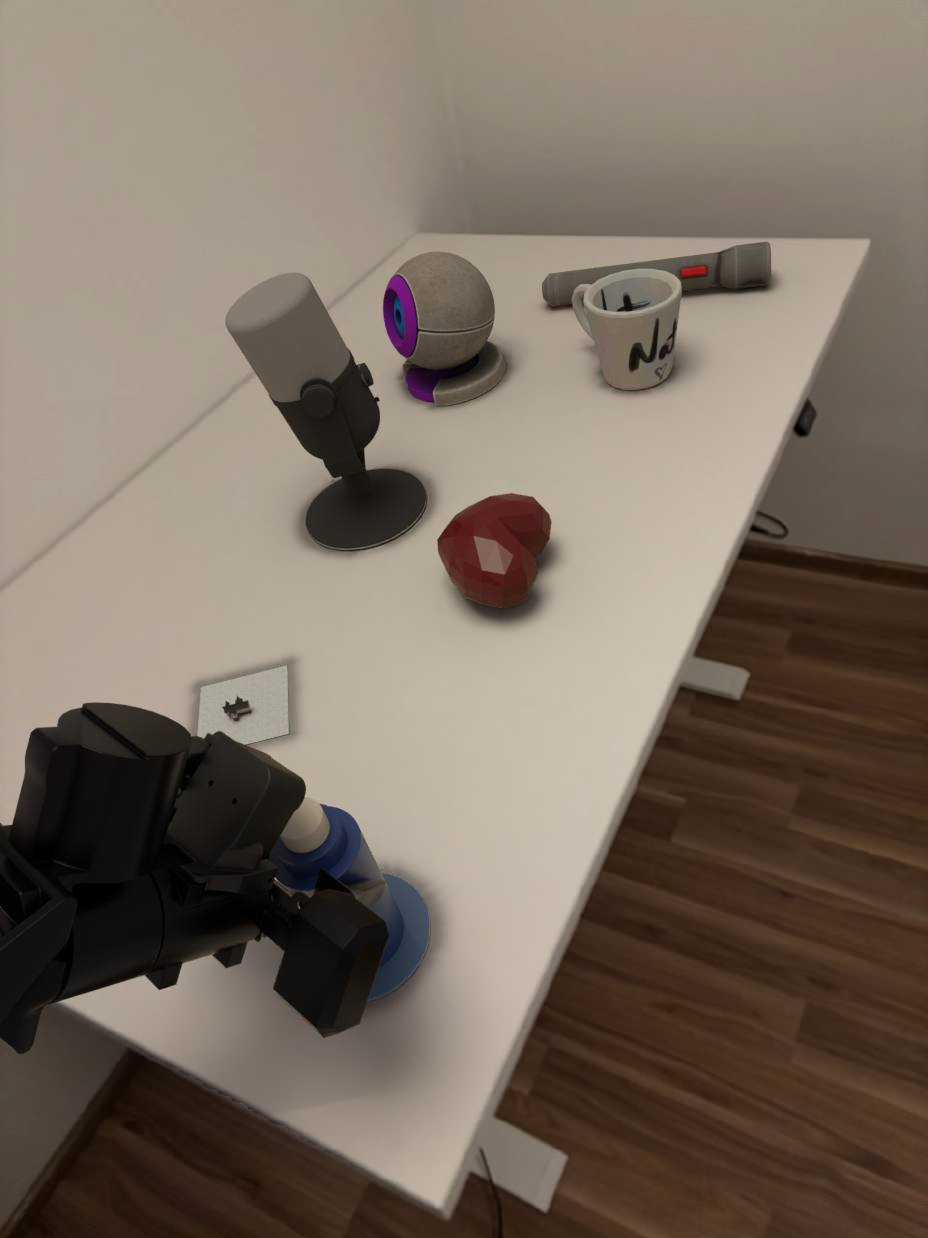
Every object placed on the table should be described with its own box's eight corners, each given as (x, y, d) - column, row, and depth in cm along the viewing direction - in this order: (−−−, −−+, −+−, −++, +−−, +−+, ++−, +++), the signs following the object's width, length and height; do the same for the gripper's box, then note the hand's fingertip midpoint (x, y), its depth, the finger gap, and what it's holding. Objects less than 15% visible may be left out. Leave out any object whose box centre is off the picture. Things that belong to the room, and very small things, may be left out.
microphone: (307, 488, 101) (221, 270, 83) (421, 461, 100) (359, 235, 83) (306, 563, 91) (210, 334, 74) (432, 533, 91) (365, 296, 73)
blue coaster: (372, 1030, 57) (371, 1028, 57) (274, 957, 62) (272, 955, 61) (457, 913, 61) (456, 911, 61) (359, 854, 66) (358, 852, 66)
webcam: (387, 375, 115) (354, 260, 105) (475, 337, 117) (452, 221, 107) (429, 418, 106) (398, 296, 96) (525, 375, 108) (504, 253, 98)
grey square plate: (254, 695, 80) (247, 680, 78) (254, 719, 78) (246, 705, 76) (228, 701, 80) (220, 687, 78) (227, 726, 78) (219, 712, 76)
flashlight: (545, 270, 120) (538, 269, 116) (768, 242, 113) (771, 239, 108) (548, 310, 122) (541, 311, 117) (769, 284, 114) (771, 284, 109)
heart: (420, 615, 81) (528, 634, 79) (412, 550, 76) (527, 567, 74) (458, 531, 89) (557, 545, 87) (453, 466, 84) (559, 479, 82)
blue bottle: (349, 991, 59) (278, 881, 49) (308, 930, 62) (234, 816, 53) (419, 936, 60) (364, 819, 51) (376, 879, 64) (316, 760, 54)
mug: (638, 408, 99) (632, 323, 92) (547, 368, 109) (535, 289, 102) (704, 365, 103) (703, 280, 96) (610, 330, 112) (602, 251, 105)
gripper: (299, 865, 38) (505, 817, 50) (71, 688, 48) (289, 685, 61) (227, 1093, 40) (443, 992, 52) (22, 875, 50) (244, 835, 63)
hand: (348, 863), depth 57 cm, fingers closed on blue bottle, 6 cm apart
